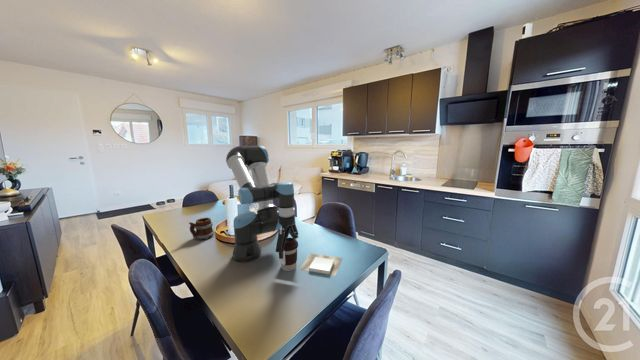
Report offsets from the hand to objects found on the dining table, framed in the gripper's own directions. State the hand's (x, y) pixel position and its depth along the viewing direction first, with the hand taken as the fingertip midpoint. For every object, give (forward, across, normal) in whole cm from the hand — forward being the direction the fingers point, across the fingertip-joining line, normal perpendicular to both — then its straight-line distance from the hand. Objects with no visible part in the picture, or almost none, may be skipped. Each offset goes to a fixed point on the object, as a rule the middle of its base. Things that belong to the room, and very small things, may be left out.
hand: (288, 256), depth 106 cm
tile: (+4, +9, -16) cm, 19 cm away
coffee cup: (+7, 0, 0) cm, 7 cm away
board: (+7, +7, -15) cm, 18 cm away
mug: (+6, +17, +70) cm, 73 cm away
